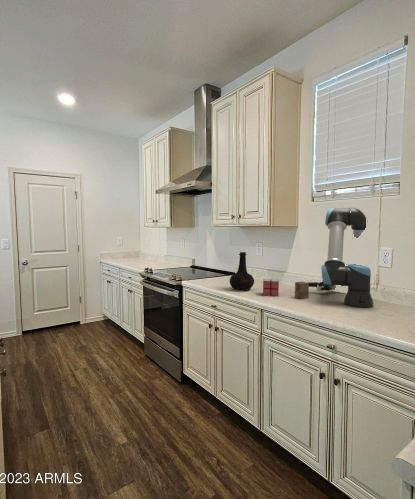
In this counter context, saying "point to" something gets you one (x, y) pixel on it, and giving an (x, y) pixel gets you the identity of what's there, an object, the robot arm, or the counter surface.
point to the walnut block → (301, 290)
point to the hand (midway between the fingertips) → (308, 287)
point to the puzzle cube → (270, 287)
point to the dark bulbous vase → (242, 276)
